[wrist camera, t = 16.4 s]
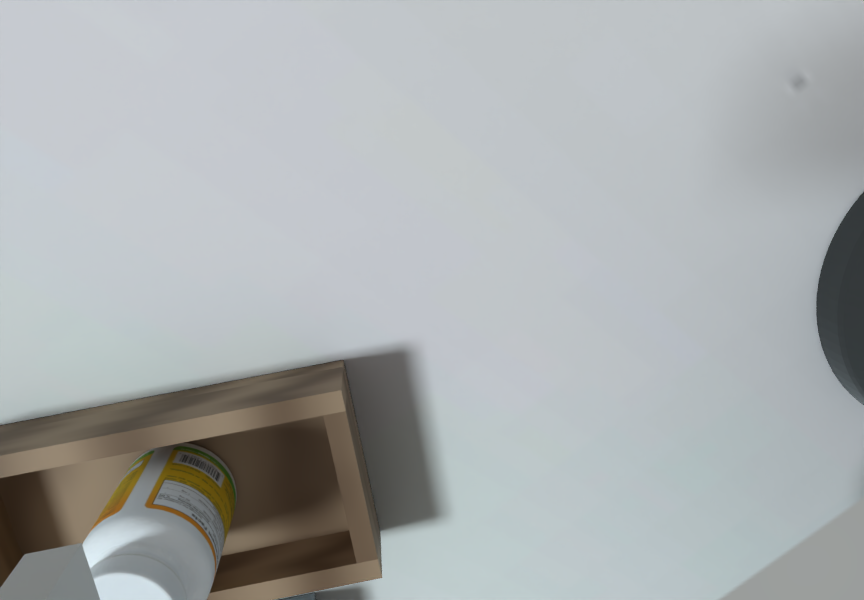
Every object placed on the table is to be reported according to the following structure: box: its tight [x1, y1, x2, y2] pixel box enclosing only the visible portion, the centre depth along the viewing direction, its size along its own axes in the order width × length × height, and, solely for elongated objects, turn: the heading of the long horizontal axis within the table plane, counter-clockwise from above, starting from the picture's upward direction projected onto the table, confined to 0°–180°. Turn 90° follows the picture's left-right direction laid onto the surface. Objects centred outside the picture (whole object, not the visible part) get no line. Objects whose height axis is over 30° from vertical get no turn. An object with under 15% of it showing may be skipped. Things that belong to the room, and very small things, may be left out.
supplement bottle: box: [82, 443, 237, 600], centre depth 33 cm, size 5×5×10 cm
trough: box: [0, 360, 382, 600], centre depth 37 cm, size 18×10×4 cm, turn 100°
